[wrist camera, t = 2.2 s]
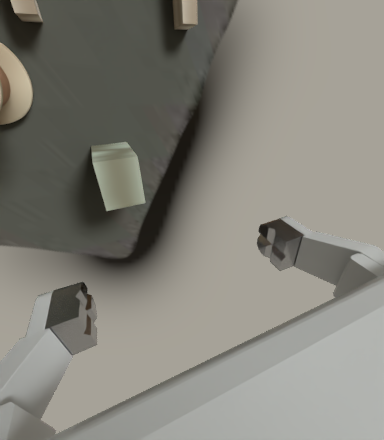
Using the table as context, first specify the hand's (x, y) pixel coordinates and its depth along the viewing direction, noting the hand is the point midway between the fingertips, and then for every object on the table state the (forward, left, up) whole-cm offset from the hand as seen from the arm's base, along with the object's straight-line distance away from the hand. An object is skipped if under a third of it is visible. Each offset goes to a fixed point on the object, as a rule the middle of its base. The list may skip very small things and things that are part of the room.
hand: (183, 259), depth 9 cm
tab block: (-1, -1, -21) cm, 21 cm away
